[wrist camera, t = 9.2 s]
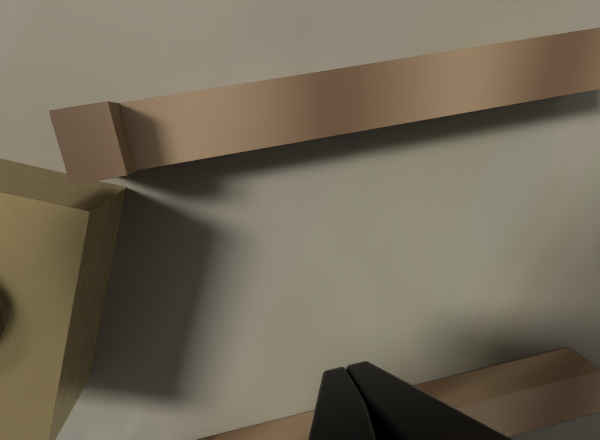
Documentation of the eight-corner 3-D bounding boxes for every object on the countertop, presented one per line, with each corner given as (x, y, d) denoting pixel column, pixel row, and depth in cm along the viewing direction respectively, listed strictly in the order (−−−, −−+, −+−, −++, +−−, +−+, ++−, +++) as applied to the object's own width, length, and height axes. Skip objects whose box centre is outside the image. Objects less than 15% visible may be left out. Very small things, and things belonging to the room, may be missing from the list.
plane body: (564, 37, 13) (640, 17, 11) (567, 385, 16) (627, 431, 14) (87, 112, 11) (48, 110, 9) (189, 484, 14) (181, 556, 12)
